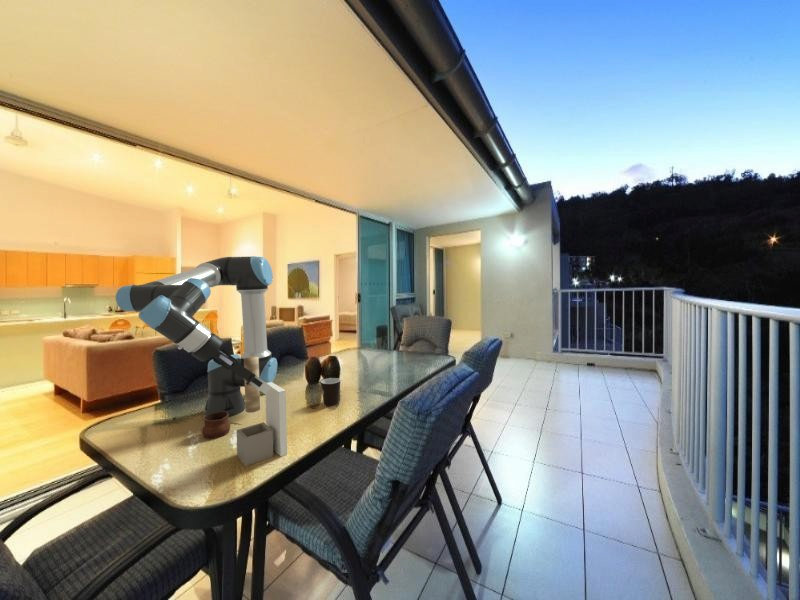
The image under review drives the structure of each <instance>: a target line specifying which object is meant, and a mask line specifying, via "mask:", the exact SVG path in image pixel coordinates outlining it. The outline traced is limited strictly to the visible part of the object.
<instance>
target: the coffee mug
mask: <svg viewBox="0 0 800 600" xmlns="http://www.w3.org/2000/svg"><path fill="white" fill-rule="evenodd" d="M341 382H342V381H341V378H338V377H337V378H336V377H329V378H325V379H322V380H320V384H321V385H320V386H321V392H322V401H323V405H324V406H328V407H330V406H336V405H338V404H339V403H340V402H339V400H340V390H341Z"/></svg>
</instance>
